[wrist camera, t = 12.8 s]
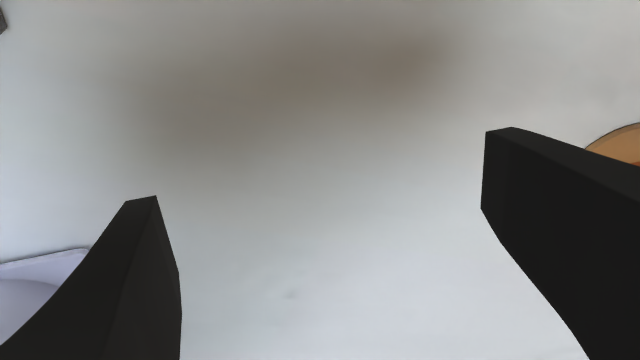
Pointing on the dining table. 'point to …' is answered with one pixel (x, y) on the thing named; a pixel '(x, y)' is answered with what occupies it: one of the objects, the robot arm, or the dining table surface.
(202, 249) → the dining table surface
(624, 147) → the coaster
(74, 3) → the dining table surface
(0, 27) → the coffee maker
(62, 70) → the dining table surface
